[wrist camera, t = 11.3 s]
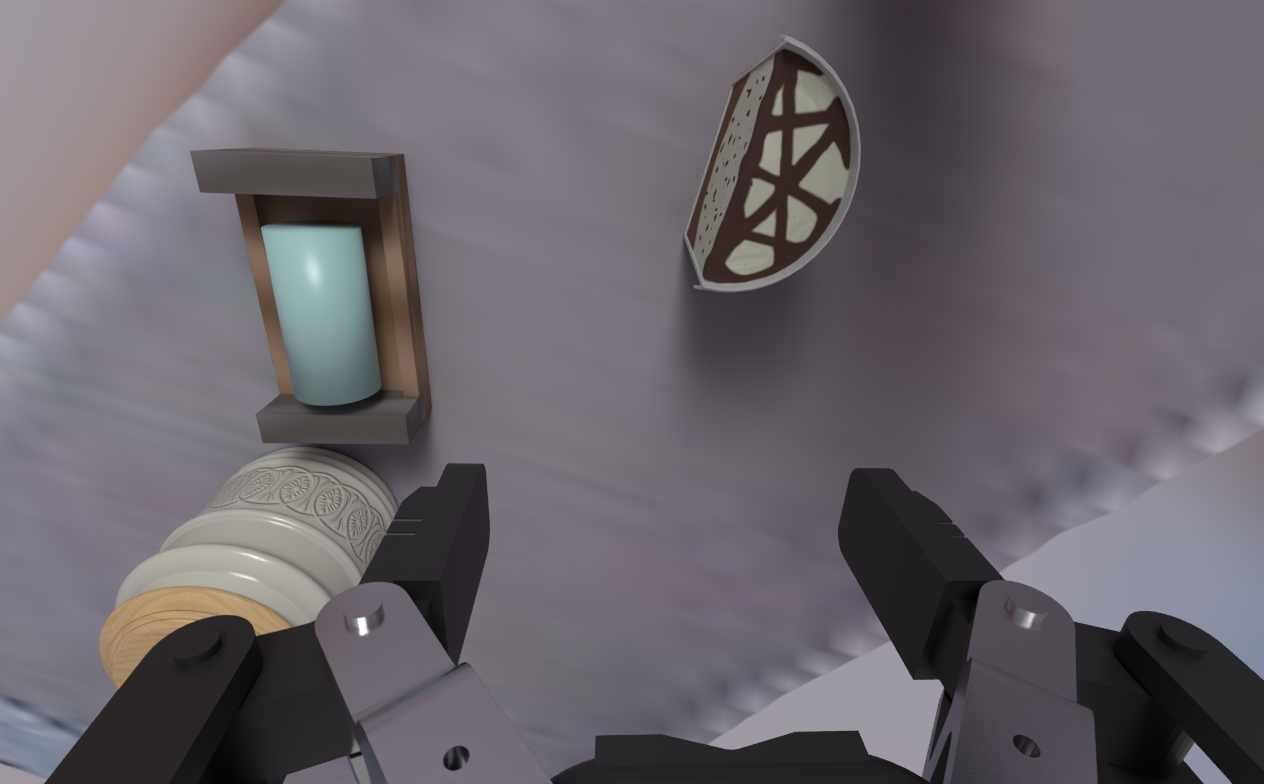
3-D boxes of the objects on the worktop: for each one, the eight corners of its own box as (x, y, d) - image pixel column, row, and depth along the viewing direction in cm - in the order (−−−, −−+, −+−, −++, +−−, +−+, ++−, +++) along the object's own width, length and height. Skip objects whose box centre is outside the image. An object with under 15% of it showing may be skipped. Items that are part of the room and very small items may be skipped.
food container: (761, 282, 40) (809, 328, 31) (675, 258, 39) (699, 297, 30) (836, 87, 35) (919, 71, 26) (741, 53, 34) (792, 25, 25)
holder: (249, 147, 35) (189, 151, 30) (403, 154, 35) (371, 158, 30) (303, 405, 42) (262, 442, 37) (431, 407, 42) (408, 444, 37)
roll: (244, 224, 32) (288, 238, 30) (332, 218, 36) (378, 229, 33) (278, 389, 36) (320, 413, 34) (354, 367, 40) (397, 388, 38)
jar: (203, 526, 46) (-14, 743, 29) (279, 409, 42) (79, 584, 26) (354, 603, 49) (235, 831, 33) (437, 502, 46) (348, 704, 30)
